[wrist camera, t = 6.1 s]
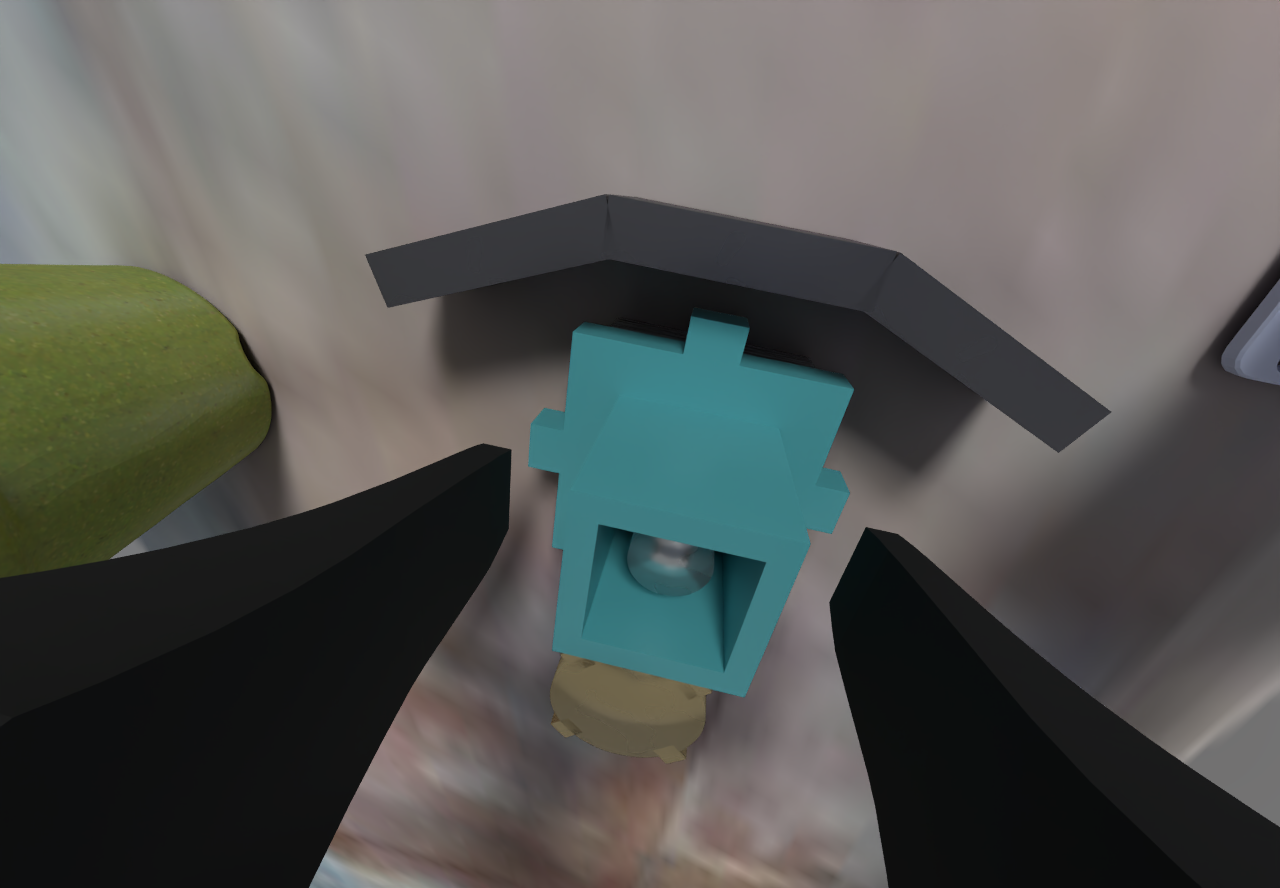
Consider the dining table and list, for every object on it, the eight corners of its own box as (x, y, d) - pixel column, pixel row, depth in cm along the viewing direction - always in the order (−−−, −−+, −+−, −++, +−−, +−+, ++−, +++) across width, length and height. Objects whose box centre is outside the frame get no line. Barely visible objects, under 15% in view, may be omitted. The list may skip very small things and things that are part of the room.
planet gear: (893, 346, 10) (1027, 454, 6) (785, 598, 14) (817, 784, 9) (554, 279, 11) (437, 332, 6) (534, 540, 14) (451, 691, 10)
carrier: (1061, 281, 10) (1331, 341, 6) (820, 702, 17) (856, 877, 12) (443, 159, 11) (252, 126, 6) (453, 610, 18) (365, 746, 13)
